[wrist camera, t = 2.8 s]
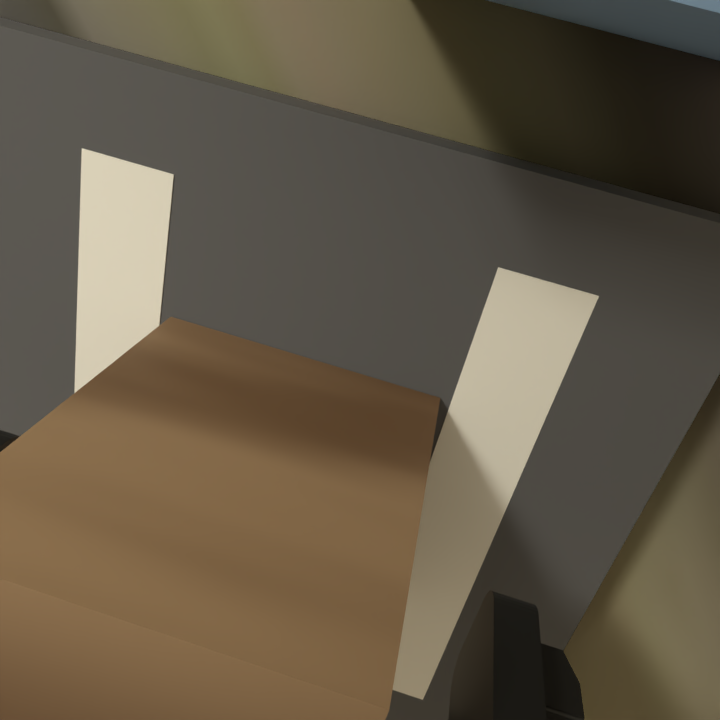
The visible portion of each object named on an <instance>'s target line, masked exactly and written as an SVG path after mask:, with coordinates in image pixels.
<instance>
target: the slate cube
mask: <svg viewBox="0 0 720 720" xmlns="http://www.w3.org/2000/svg"><path fill="white" fill-rule="evenodd" d="M487 1H491V2H494V3H498V4H502V5H506V6H510V7H514V8H518V9H521V10H525V11H529V12H533V13H537V14H541V15H545V16H548V17H552V18H556V19H560V20H564V21H568V22H572V23H575V24H579V25H583V26H587V27H591V28H595V29H599V30H602V31H606V32H610V33H614V34H618V35H622V36H626V37H629V38H633V39H637V40H641V41H645V42H649V43H653V44H656V45H660V46H664V47H668V48H672V49H676V50H680V51H683V52H687V53H691V54H695V55H699V56H703V57H707V58H710V59H714V60H718V61H720V0H487Z"/></svg>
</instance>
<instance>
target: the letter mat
mask: <svg viewBox="0 0 720 720" xmlns="http://www.w3.org/2000/svg"><path fill="white" fill-rule="evenodd" d="M170 317H174V318H177V319H181V320H184V321H187V322H191V323H194V324H197V325H200V326H204V327H207V328H210V329H214V330H217V331H220V332H224V333H227V334H230V335H234V336H237V337H240V338H244V339H247V340H250V341H254V342H257V343H260V344H263V345H267V346H270V347H273V348H277V349H280V350H283V351H287V352H290V353H293V354H297V355H300V356H303V357H307V358H310V359H313V360H316V361H320V362H323V363H326V364H330V365H333V366H336V367H340V368H343V369H346V370H350V371H353V372H356V373H360V374H363V375H366V376H369V377H373V378H376V379H379V380H383V381H386V382H389V383H393V384H396V385H399V386H403V387H406V388H409V389H413V390H416V391H419V392H422V393H426V394H429V395H432V396H436V397H439V398H440V403H439V409H438V415H437V421H436V427H435V433H434V439H433V446H432V452H431V458H430V464H429V470H428V476H427V482H426V488H425V494H424V501H423V507H422V513H421V519H420V525H419V531H418V537H417V543H416V549H415V556H414V562H413V568H412V574H411V580H410V586H409V592H408V598H407V604H406V611H405V617H404V623H403V629H402V635H401V641H400V647H399V653H398V659H397V666H396V672H395V678H394V684H393V690H392V696H391V702H390V708H389V712H388V714H387V717H386V719H385V720H448V718H449V704H450V692H451V684H452V679H453V674H454V669H455V666H456V662H457V659H458V656H459V653H460V651H461V648H462V646H463V644H464V642H465V640H466V637H467V635H468V633H469V631H470V629H471V626H472V624H473V622H474V620H475V617H476V615H477V613H478V611H479V609H480V606H481V604H482V602H483V600H484V598H485V596H486V594H487V593H488V592H489V591H494V592H497V593H500V594H503V595H506V596H510V597H513V598H516V599H519V600H522V601H525V602H528V603H531V604H534V605H536V607H537V609H538V614H539V626H540V639H541V643H542V644H545V645H548V646H551V647H554V648H558V649H561V650H564V649H565V647H566V645H567V643H568V642H569V640H570V638H571V636H572V634H573V633H574V631H575V629H576V627H577V626H578V624H579V622H580V620H581V619H582V617H583V615H584V613H585V611H586V610H587V608H588V606H589V604H590V603H591V601H592V599H593V597H594V596H595V594H596V592H597V590H598V588H599V587H600V585H601V583H602V581H603V580H604V578H605V576H606V574H607V573H608V571H609V569H610V567H611V565H612V564H613V562H614V560H615V558H616V557H617V555H618V553H619V551H620V549H621V548H622V546H623V544H624V542H625V541H626V539H627V537H628V535H629V534H630V532H631V530H632V528H633V526H634V525H635V523H636V521H637V519H638V518H639V516H640V514H641V512H642V511H643V509H644V507H645V505H646V503H647V502H648V500H649V498H650V496H651V495H652V493H653V491H654V489H655V488H656V486H657V484H658V482H659V480H660V479H661V477H662V475H663V473H664V472H665V470H666V468H667V466H668V464H669V463H670V461H671V459H672V457H673V456H674V454H675V452H676V450H677V449H678V447H679V445H680V443H681V441H682V440H683V438H684V436H685V434H686V433H687V431H688V429H689V427H690V426H691V424H692V422H693V420H694V418H695V417H696V415H697V413H698V411H699V410H700V408H701V406H702V404H703V403H704V401H705V399H706V397H707V395H708V394H709V392H710V390H711V388H712V387H713V385H714V383H715V381H716V379H717V378H718V376H719V374H720V214H718V213H715V212H711V211H707V210H704V209H700V208H696V207H693V206H689V205H686V204H682V203H678V202H675V201H671V200H667V199H664V198H660V197H656V196H653V195H649V194H645V193H642V192H638V191H634V190H631V189H627V188H623V187H620V186H616V185H612V184H609V183H605V182H601V181H598V180H594V179H590V178H587V177H583V176H579V175H576V174H572V173H569V172H565V171H561V170H558V169H554V168H550V167H547V166H543V165H539V164H536V163H532V162H528V161H525V160H521V159H517V158H514V157H510V156H506V155H503V154H499V153H495V152H492V151H488V150H484V149H481V148H477V147H473V146H470V145H466V144H462V143H459V142H455V141H452V140H448V139H444V138H441V137H437V136H433V135H430V134H426V133H422V132H419V131H415V130H411V129H408V128H404V127H400V126H397V125H393V124H389V123H386V122H382V121H378V120H375V119H371V118H367V117H364V116H360V115H356V114H353V113H349V112H346V111H342V110H338V109H335V108H331V107H327V106H324V105H320V104H316V103H313V102H309V101H305V100H302V99H298V98H294V97H291V96H287V95H283V94H280V93H276V92H272V91H269V90H265V89H261V88H258V87H254V86H250V85H247V84H243V83H239V82H236V81H232V80H229V79H225V78H221V77H218V76H214V75H210V74H207V73H203V72H199V71H196V70H192V69H188V68H185V67H181V66H177V65H174V64H170V63H166V62H163V61H159V60H155V59H152V58H148V57H144V56H141V55H137V54H133V53H130V52H126V51H122V50H119V49H115V48H112V47H108V46H104V45H101V44H97V43H93V42H90V41H86V40H82V39H79V38H75V37H71V36H68V35H64V34H60V33H57V32H53V31H49V30H46V29H42V28H38V27H35V26H31V25H27V24H24V23H20V22H16V21H13V20H9V19H5V18H2V17H0V430H2V431H6V432H9V433H12V434H15V435H18V436H21V435H22V434H24V433H25V432H26V431H28V430H29V429H30V428H31V427H33V426H34V425H35V424H36V423H38V422H39V421H40V420H41V419H43V418H44V417H45V416H46V415H48V414H49V413H50V412H51V411H53V410H54V409H55V408H56V407H58V406H59V405H60V404H61V403H63V402H64V401H65V400H66V399H68V398H69V397H70V396H72V395H73V394H74V393H75V392H77V391H78V390H79V389H80V388H82V387H83V386H84V385H85V384H87V383H88V382H89V381H90V380H92V379H93V378H94V377H95V376H97V375H98V374H99V373H100V372H102V371H103V370H104V369H105V368H107V367H108V366H109V365H110V364H112V363H113V362H114V361H115V360H117V359H118V358H119V357H121V356H122V355H123V354H124V353H126V352H127V351H128V350H129V349H131V348H132V347H133V346H134V345H136V344H137V343H138V342H139V341H141V340H142V339H143V338H144V337H146V336H147V335H148V334H149V333H151V332H152V331H153V330H154V329H156V328H157V327H158V326H159V325H161V324H162V323H163V322H164V321H166V320H167V319H168V318H170Z"/></svg>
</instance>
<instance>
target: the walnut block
mask: <svg viewBox="0 0 720 720" xmlns="http://www.w3.org/2000/svg"><path fill="white" fill-rule="evenodd" d="M439 403H440V398H439V397H436V396H432V395H429V394H426V393H422V392H419V391H416V390H413V389H409V388H406V387H403V386H399V385H396V384H393V383H389V382H386V381H383V380H379V379H376V378H373V377H369V376H366V375H363V374H360V373H356V372H353V371H350V370H346V369H343V368H340V367H336V366H333V365H330V364H326V363H323V362H320V361H316V360H313V359H310V358H307V357H303V356H300V355H297V354H293V353H290V352H287V351H283V350H280V349H277V348H273V347H270V346H267V345H263V344H260V343H257V342H254V341H250V340H247V339H244V338H240V337H237V336H234V335H230V334H227V333H224V332H220V331H217V330H214V329H210V328H207V327H204V326H200V325H197V324H194V323H191V322H187V321H184V320H181V319H177V318H174V317H170V318H168V319H167V320H166V321H164V322H163V323H162V324H161V325H159V326H158V327H157V328H156V329H154V330H153V331H152V332H151V333H149V334H148V335H147V336H146V337H144V338H143V339H142V340H141V341H139V342H138V343H137V344H136V345H134V346H133V347H132V348H131V349H129V350H128V351H127V352H126V353H124V354H123V355H122V356H121V357H119V358H118V359H117V360H115V361H114V362H113V363H112V364H110V365H109V366H108V367H107V368H105V369H104V370H103V371H102V372H100V373H99V374H98V375H97V376H95V377H94V378H93V379H92V380H90V381H89V382H88V383H87V384H85V385H84V386H83V387H82V388H80V389H79V390H78V391H77V392H75V393H74V394H73V395H72V396H70V397H69V398H68V399H66V400H65V401H64V402H63V403H61V404H60V405H59V406H58V407H56V408H55V409H54V410H53V411H51V412H50V413H49V414H48V415H46V416H45V417H44V418H43V419H41V420H40V421H39V422H38V423H36V424H35V425H34V426H33V427H31V428H30V429H29V430H28V431H26V432H25V433H24V434H22V435H21V436H20V437H19V438H17V439H16V440H15V441H14V442H12V443H11V444H10V445H9V446H7V447H6V448H5V449H4V450H2V451H1V452H0V720H385V719H386V717H387V714H388V712H389V708H390V702H391V696H392V690H393V684H394V678H395V672H396V666H397V659H398V653H399V647H400V641H401V635H402V629H403V623H404V617H405V611H406V604H407V598H408V592H409V586H410V580H411V574H412V568H413V562H414V556H415V549H416V543H417V537H418V531H419V525H420V519H421V513H422V507H423V501H424V494H425V488H426V482H427V476H428V470H429V464H430V458H431V452H432V446H433V439H434V433H435V427H436V421H437V415H438V409H439Z"/></svg>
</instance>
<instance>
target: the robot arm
mask: <svg viewBox="0 0 720 720" xmlns="http://www.w3.org/2000/svg"><path fill="white" fill-rule="evenodd" d="M19 437H20V436H18V435H15V434H12V433H9V432H6V431H2V430H0V452H1V451H2V450H4V449H5V448H6V447H7V446H9V445H10V444H11V443H12V442H14V441H15V440H16V439H17V438H19ZM448 720H584V712H583V704H582V697H581V689H580V683H579V681H578V679H577V677H576V675H575V673H574V672H573V670H572V668H571V666H570V664H569V662H568V660H567V658H566V656H565V654H564V652H563V650H561V649H558V648H554V647H551V646H548V645H545V644H542V643H541V639H540V626H539V614H538V609H537V607H536V605H534V604H531V603H528V602H525V601H522V600H519V599H516V598H513V597H510V596H506V595H503V594H500V593H497V592H494V591H489V592H488V593H487V594H486V596H485V598H484V600H483V602H482V604H481V606H480V609H479V611H478V613H477V615H476V617H475V620H474V622H473V624H472V626H471V629H470V631H469V633H468V635H467V637H466V640H465V642H464V644H463V646H462V648H461V651H460V653H459V656H458V659H457V662H456V666H455V669H454V674H453V679H452V684H451V692H450V704H449V718H448Z"/></svg>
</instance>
